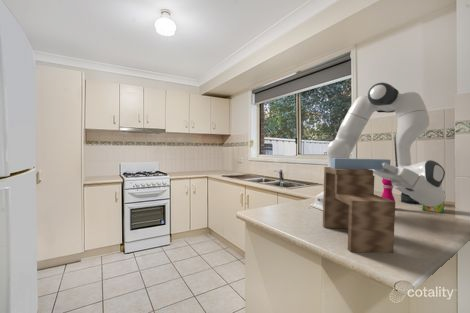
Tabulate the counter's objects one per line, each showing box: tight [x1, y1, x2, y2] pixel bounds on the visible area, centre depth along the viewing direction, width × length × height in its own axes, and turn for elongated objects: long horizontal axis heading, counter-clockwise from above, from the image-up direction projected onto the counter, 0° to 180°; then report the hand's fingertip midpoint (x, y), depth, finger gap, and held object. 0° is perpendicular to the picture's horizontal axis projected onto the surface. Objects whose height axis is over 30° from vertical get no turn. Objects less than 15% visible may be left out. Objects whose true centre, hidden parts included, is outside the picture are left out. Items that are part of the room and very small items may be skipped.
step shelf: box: [322, 166, 396, 254], centre depth 88 cm, size 14×25×26 cm, turn 179°
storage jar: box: [400, 192, 420, 205], centre depth 150 cm, size 10×10×15 cm
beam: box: [331, 158, 391, 170], centre depth 94 cm, size 22×4×4 cm, turn 89°
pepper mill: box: [380, 178, 396, 202], centre depth 134 cm, size 7×7×20 cm
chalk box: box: [421, 191, 446, 214], centre depth 131 cm, size 9×9×15 cm
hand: (375, 163), depth 94 cm, fingers open, 8 cm apart
